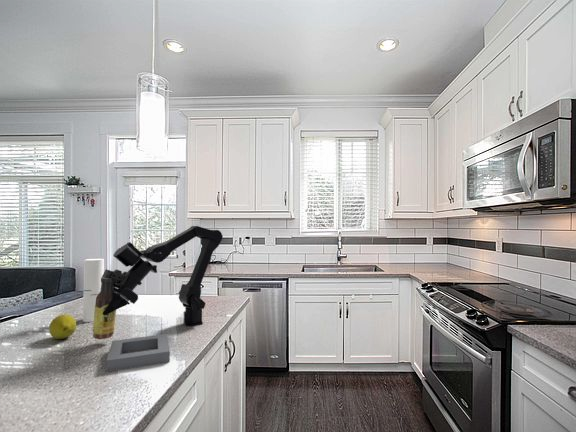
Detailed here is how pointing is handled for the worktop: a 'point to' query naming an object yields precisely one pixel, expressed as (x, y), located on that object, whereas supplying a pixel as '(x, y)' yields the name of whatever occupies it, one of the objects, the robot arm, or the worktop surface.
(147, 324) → the worktop surface
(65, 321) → the lemon
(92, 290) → the cylindrical container
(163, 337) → the socket frame
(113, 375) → the worktop surface
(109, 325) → the sauce bottle
